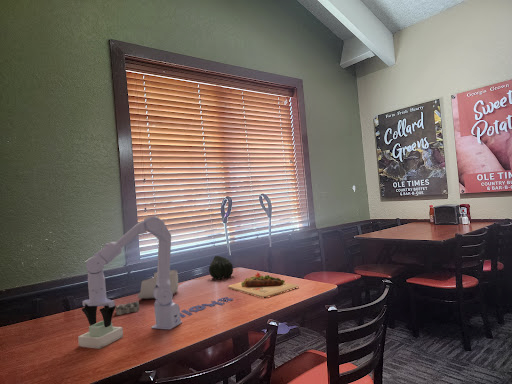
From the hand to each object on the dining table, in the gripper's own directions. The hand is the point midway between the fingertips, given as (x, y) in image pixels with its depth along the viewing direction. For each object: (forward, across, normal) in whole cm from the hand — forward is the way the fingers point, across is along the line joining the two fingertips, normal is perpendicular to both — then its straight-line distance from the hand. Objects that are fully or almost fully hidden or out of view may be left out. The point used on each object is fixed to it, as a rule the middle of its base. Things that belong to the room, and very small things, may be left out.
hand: (100, 325), depth 125 cm
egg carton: (+6, -18, +31) cm, 37 cm away
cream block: (+6, -20, +57) cm, 61 cm away
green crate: (+5, 0, 0) cm, 5 cm away
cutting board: (+7, +33, +75) cm, 82 cm away
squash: (+6, -4, +96) cm, 96 cm away
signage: (+7, +19, +42) cm, 46 cm away
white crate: (+6, 0, 0) cm, 6 cm away
